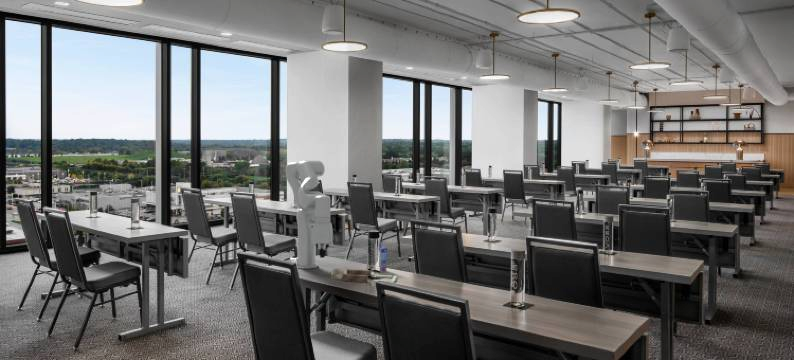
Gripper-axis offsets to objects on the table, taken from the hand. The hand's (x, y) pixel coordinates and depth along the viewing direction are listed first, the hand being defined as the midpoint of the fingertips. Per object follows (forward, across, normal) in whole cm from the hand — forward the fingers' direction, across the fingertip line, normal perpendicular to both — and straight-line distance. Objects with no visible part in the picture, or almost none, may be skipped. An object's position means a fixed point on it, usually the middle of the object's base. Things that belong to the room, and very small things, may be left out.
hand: (322, 257), depth 288 cm
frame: (+11, +32, +1) cm, 33 cm away
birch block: (+10, +7, +1) cm, 13 cm away
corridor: (+10, +17, +1) cm, 20 cm away
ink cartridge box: (+10, +24, +21) cm, 34 cm away
